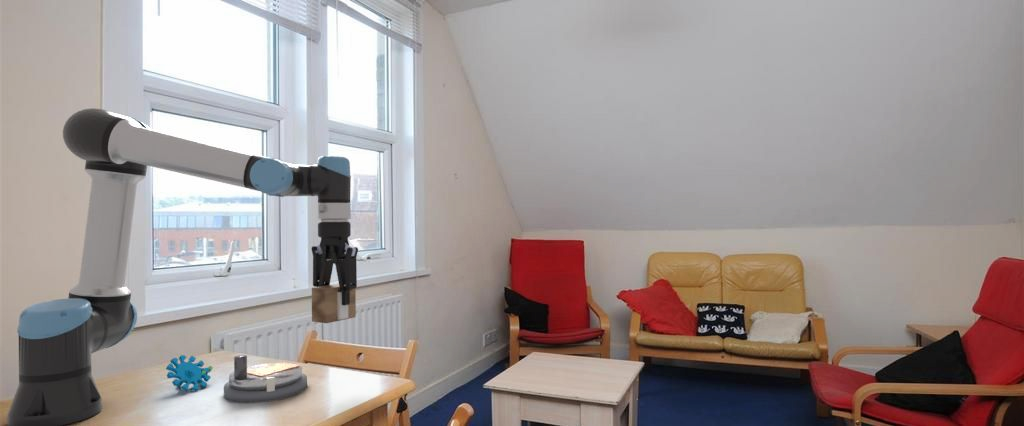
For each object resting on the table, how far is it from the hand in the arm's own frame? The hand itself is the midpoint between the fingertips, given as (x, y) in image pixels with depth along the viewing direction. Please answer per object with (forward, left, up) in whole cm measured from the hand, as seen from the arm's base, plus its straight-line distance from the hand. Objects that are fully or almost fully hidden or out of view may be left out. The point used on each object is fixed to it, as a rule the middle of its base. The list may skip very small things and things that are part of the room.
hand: (334, 317), depth 136 cm
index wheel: (-12, -10, -14) cm, 21 cm away
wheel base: (-12, -10, -17) cm, 23 cm away
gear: (-29, -18, -17) cm, 38 cm away
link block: (0, 0, 0) cm, 0 cm away
